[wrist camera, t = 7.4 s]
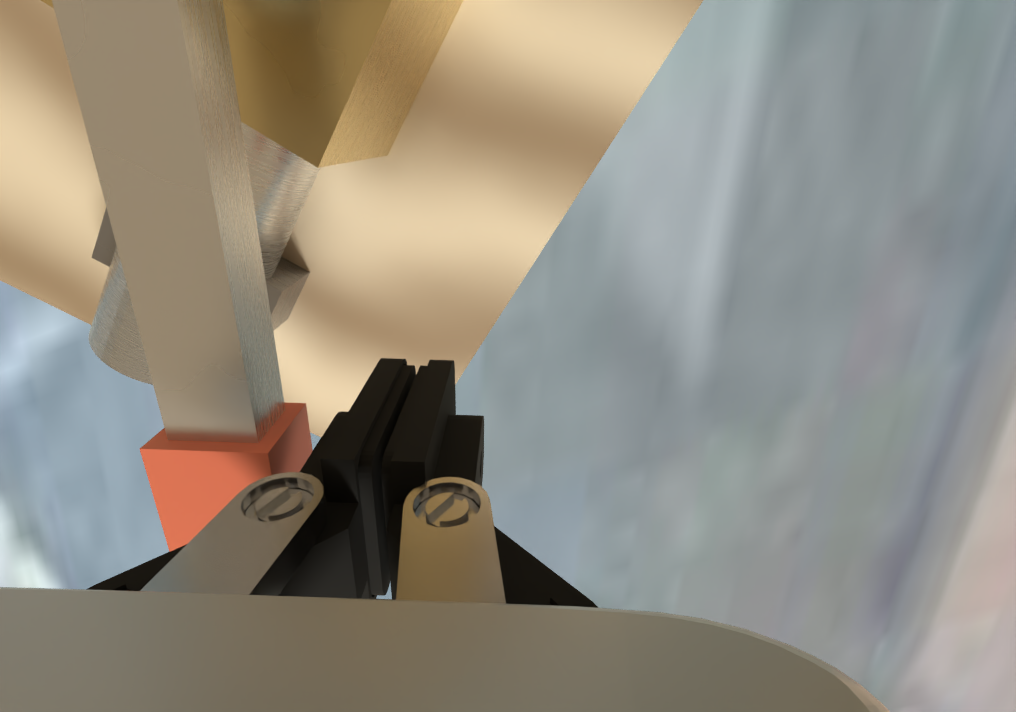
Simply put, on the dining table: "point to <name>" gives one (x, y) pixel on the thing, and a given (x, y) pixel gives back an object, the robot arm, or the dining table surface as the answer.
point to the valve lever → (185, 246)
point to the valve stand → (349, 168)
